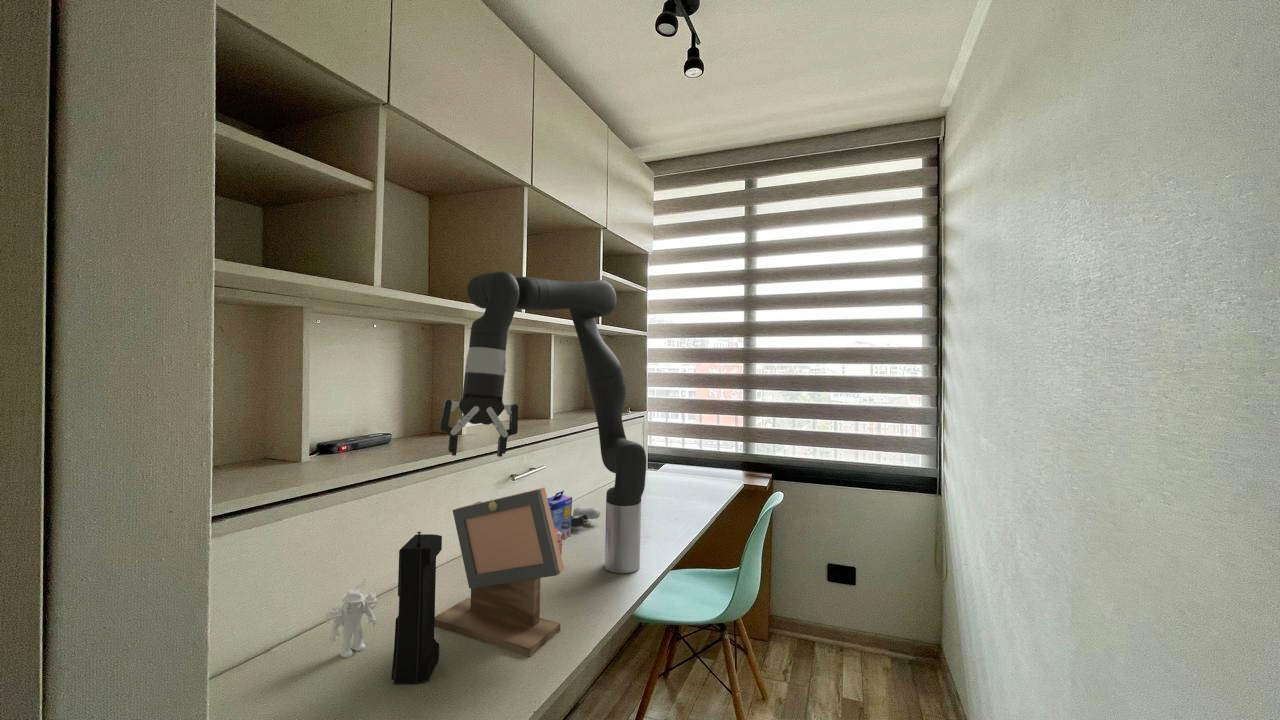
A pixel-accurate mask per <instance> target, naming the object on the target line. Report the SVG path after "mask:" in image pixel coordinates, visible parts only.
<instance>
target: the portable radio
mask: <svg viewBox="0 0 1280 720" xmlns="http://www.w3.org/2000/svg"><path fill="white" fill-rule="evenodd" d="M416 533H417V534H415V535H414V536H412V537H411V538H410V539H409V540H408V541H407V542H406V543H405V544H404V545H403V546H402V547H401V548H400V549H399V551H398V573H397V574H398V577H397V580H398V581H397V597H398V614H397V615H398V616H397V617H396V619H395V625H394V644H393V658H392V668H391V675H390V676H391V677H390V678H391V681H393V685H410V684H411V685H415V684H420V683H421V684H422V683H425V682H429V681H430V679H431V677H432V675H433V673H434V671H435V669H436V667H437V665H438V663H439V661H440V642H438V641H436V639H435V628H436V627H435V616H436V614H435V613H436V579H437V578H436V576H437V575H436V574H437V556H438V555H439V554H440V553H441V551H442V549H443V536H442V535H439V534H431V533H430V534H428V533H427V534H424V533H423V534H421V533H422V531H417V532H416Z"/></svg>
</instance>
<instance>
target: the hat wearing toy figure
mask: <svg viewBox="0 0 1280 720" xmlns="http://www.w3.org/2000/svg"><path fill="white" fill-rule="evenodd" d="M366 580H367V579H363V581H361V582H360V583H359V584H357V585H356V586H355V587H356V588H351V589H349V590H347V592H346V593H344V595H343V596H342V598H341V601H342V602H344V603H343V604H342V606H341V607H339V605H333V606H332V607H331V606H330V607H329V608H328V610H327V611H326V612H325V614H324V615H325V616H324V617H325V621H326V624H329V623H330V621H331V620H332V621H333V623H332V625H331V628H330V629H331V630H330V634H329V640H330V641H331V643H335V642H336V639H335V638H336V636H337V635H338V636H341V633H342V645H341V647H340V651H339V656H340V657H342V658H349V657H352V656H353V649H355V650H354V651H357V652H360V651H364V650H365V649H366V644H364V642H363V639H364V636H363V626H362V618H363V614H365V616H367V617H368V621H367V625H370V623H372V627H375V626H376V625H377V618H376V616H375V615H374V612H373V611H372V610H371V609H374V608H375V607H376V606H377V605H378V600H377V594H376V593H375V592H369V593H367V594H364V593H361V591H360V590H362V587H364V585H365V584H366ZM371 605H373V606H371ZM328 619H329V620H328ZM339 626H341V627H343V629H342V631H341V632H340V631H339V630H338V628H339ZM352 636H353V637H354V639H353V642H352Z"/></svg>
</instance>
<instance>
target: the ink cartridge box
mask: <svg viewBox="0 0 1280 720" xmlns="http://www.w3.org/2000/svg"><path fill="white" fill-rule="evenodd" d="M564 491H565V490H561V491H559V492H556V493H555V495H553V496H551V497H547V499H548V503H549V507H550V511H551V516H552V520H553V524H554V527H555V528H556V529H557V530H558V531H560V532H561V533H562V541H563V540H565V539H568V538H570V537H571V528H572V527H571V515H572V513H573V512H572V510H573V497H572V496H570V495H569V496H568V495H564Z"/></svg>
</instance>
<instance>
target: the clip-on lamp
mask: <svg viewBox="0 0 1280 720" xmlns="http://www.w3.org/2000/svg"><path fill="white" fill-rule="evenodd" d="M572 513H573V514H571V528H572V527H583V526H584V525H585V524H587V523H589V524H592V521H591V520H597V519H599V518H600V517H601V511H600V509H599V508H598V507H585V506H584V505H583V506H582V505H580V506H579V505H578V506H576V507H575V508H574V510H573V512H572Z"/></svg>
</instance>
